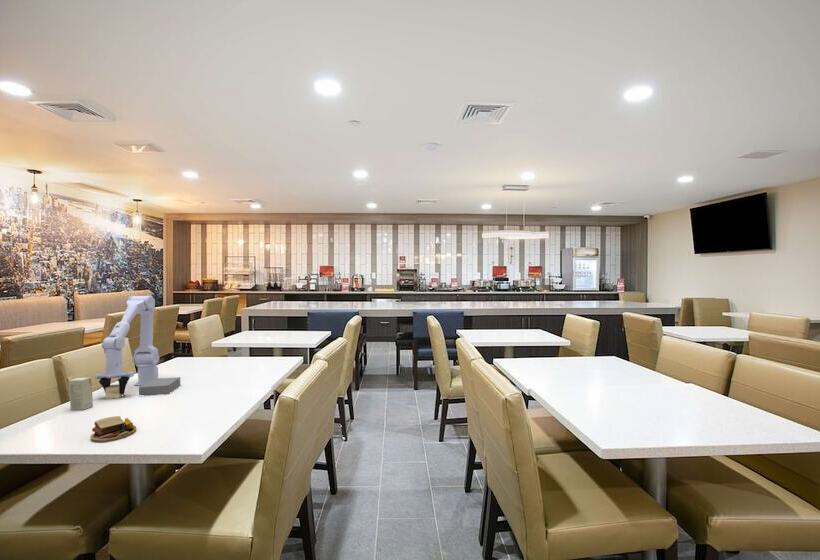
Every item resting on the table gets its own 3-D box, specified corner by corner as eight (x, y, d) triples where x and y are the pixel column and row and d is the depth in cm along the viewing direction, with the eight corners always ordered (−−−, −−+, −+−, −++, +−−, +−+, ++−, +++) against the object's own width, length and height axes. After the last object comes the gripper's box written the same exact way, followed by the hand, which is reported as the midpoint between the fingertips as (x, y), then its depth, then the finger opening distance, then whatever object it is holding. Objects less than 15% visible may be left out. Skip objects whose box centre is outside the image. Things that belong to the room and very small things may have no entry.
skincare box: (93, 406, 163) (92, 377, 163) (83, 410, 159) (82, 380, 158) (79, 406, 164) (78, 377, 163) (69, 410, 159) (68, 380, 159)
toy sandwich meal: (93, 447, 125) (92, 432, 125) (87, 434, 135) (87, 421, 135) (140, 435, 134) (139, 421, 134) (131, 424, 144) (131, 411, 144)
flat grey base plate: (153, 387, 190) (153, 378, 190) (180, 385, 192) (180, 377, 192) (139, 396, 176) (138, 387, 176) (168, 394, 178) (168, 385, 178)
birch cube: (112, 395, 177) (111, 384, 177) (124, 395, 178) (124, 384, 178) (105, 399, 172) (105, 388, 172) (118, 398, 173) (118, 387, 173)
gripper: (90, 366, 169) (91, 398, 170) (127, 364, 172) (128, 395, 172) (99, 363, 176) (100, 393, 177) (135, 361, 179) (136, 390, 179)
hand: (115, 393), depth 175 cm, fingers closed on birch cube, 5 cm apart
